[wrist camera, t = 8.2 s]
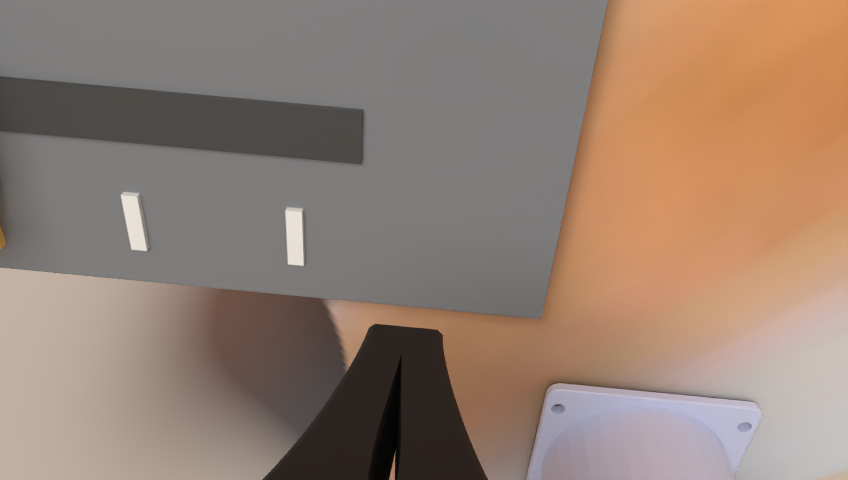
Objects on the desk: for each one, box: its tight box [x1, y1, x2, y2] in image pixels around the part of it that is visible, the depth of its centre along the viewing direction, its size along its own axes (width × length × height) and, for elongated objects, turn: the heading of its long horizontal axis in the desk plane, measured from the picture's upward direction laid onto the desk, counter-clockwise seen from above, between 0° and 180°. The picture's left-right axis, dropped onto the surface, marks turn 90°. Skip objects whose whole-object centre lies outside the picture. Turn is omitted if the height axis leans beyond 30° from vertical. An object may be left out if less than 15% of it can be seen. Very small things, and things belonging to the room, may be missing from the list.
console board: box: [0, 0, 608, 319], centre depth 21 cm, size 12×28×2 cm, turn 86°
